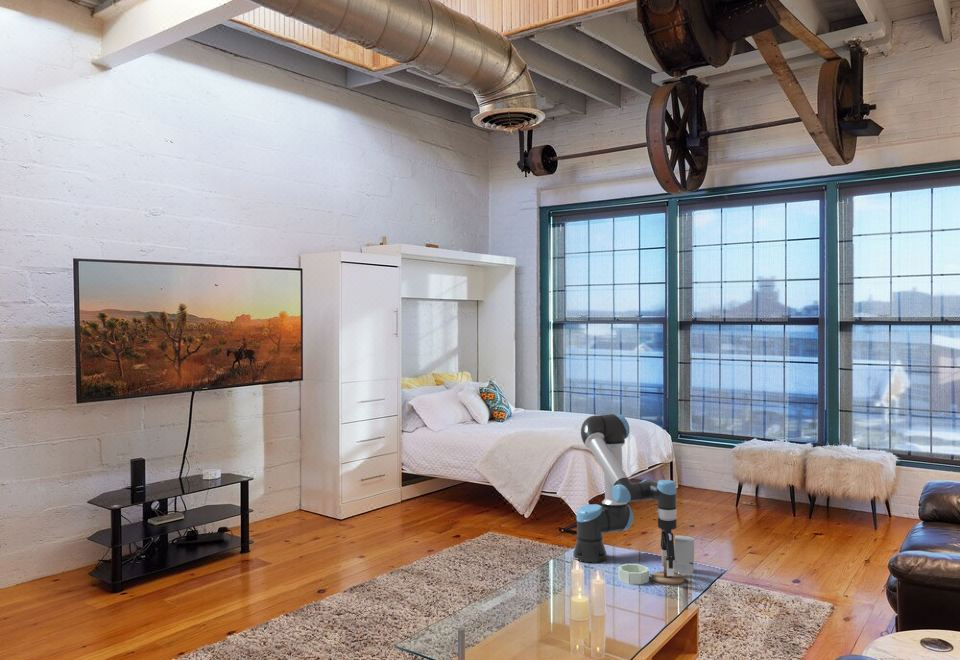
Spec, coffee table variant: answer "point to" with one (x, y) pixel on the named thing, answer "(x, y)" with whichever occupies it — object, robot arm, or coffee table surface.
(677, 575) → the lid
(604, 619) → the coffee table surface
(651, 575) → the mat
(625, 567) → the bowl
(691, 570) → the skincare box
